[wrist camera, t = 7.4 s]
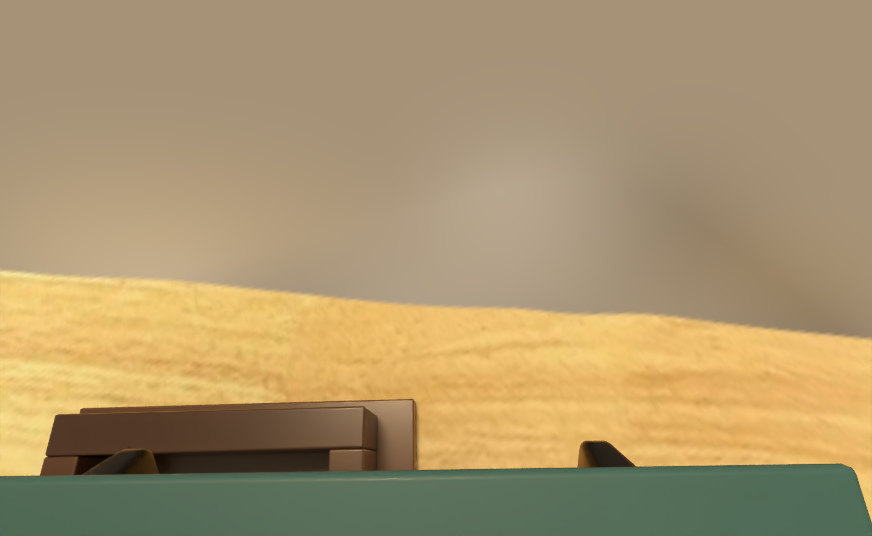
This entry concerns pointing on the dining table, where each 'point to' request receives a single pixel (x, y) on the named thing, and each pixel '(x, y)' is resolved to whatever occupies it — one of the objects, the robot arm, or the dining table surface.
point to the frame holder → (241, 437)
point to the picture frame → (445, 503)
